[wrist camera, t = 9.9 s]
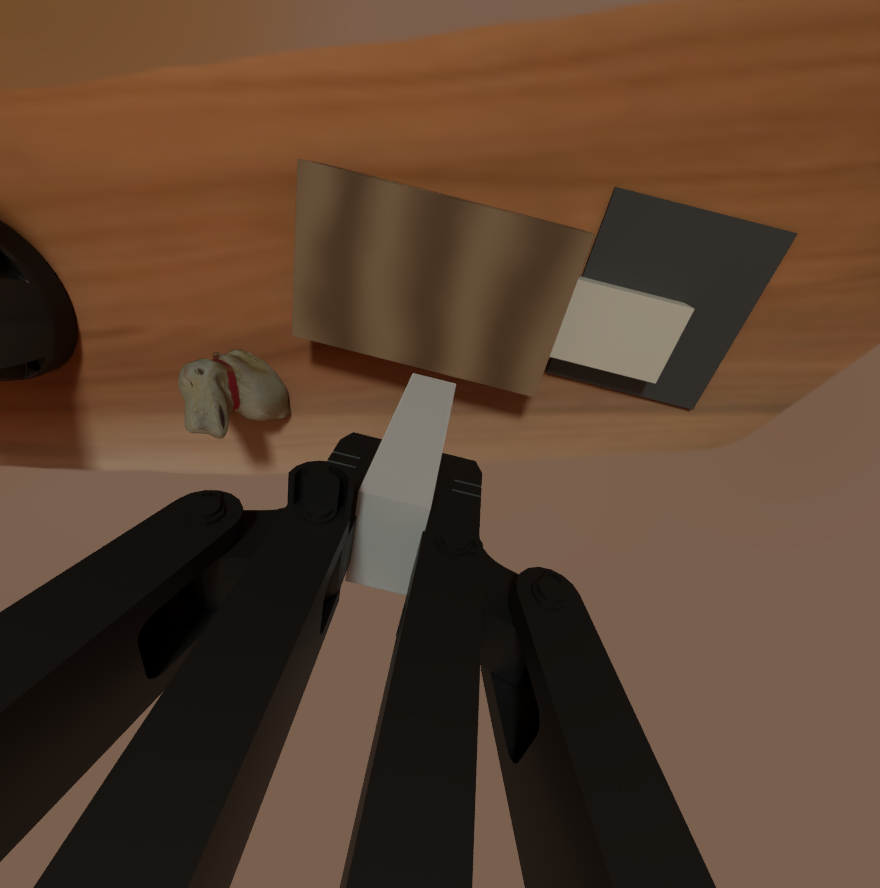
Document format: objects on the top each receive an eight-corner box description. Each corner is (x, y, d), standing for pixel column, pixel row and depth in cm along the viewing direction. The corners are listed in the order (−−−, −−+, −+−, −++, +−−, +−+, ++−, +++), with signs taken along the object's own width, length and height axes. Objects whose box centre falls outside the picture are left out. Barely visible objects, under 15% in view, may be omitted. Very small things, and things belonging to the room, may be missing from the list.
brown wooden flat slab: (311, 322, 37) (291, 335, 34) (320, 162, 31) (297, 158, 28) (531, 378, 37) (534, 397, 34) (584, 230, 31) (594, 234, 28)
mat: (546, 371, 37) (546, 372, 37) (614, 187, 30) (615, 187, 29) (691, 408, 37) (692, 409, 37) (795, 233, 30) (797, 233, 29)
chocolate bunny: (266, 336, 39) (199, 376, 30) (297, 413, 42) (245, 468, 34) (214, 345, 40) (134, 387, 31) (248, 420, 43) (186, 475, 35)
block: (544, 348, 36) (546, 355, 34) (570, 273, 33) (574, 278, 31) (648, 374, 36) (655, 383, 34) (684, 303, 33) (694, 308, 31)
